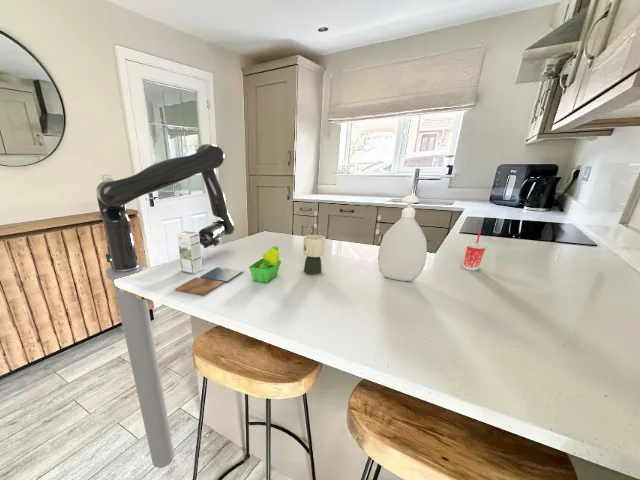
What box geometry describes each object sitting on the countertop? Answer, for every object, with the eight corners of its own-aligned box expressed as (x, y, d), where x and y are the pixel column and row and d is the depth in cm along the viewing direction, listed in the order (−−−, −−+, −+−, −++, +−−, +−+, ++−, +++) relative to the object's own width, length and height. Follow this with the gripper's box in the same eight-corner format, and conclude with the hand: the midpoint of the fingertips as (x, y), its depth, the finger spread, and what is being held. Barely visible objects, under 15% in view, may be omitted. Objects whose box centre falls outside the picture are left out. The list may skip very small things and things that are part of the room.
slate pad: (200, 278, 108) (200, 276, 107) (217, 268, 117) (217, 267, 117) (227, 282, 103) (227, 281, 103) (242, 272, 112) (242, 271, 112)
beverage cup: (465, 264, 115) (475, 227, 109) (484, 268, 110) (494, 230, 105) (456, 267, 112) (466, 229, 107) (475, 272, 107) (485, 232, 102)
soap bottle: (424, 278, 103) (441, 194, 92) (419, 285, 97) (436, 197, 86) (379, 270, 111) (390, 192, 101) (372, 277, 105) (383, 195, 95)
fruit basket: (262, 271, 113) (262, 241, 109) (284, 274, 110) (285, 243, 105) (248, 281, 104) (247, 249, 99) (272, 285, 100) (272, 251, 96)
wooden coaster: (175, 290, 98) (175, 288, 98) (196, 278, 107) (195, 277, 107) (204, 295, 94) (203, 293, 93) (223, 283, 103) (222, 281, 102)
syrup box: (203, 269, 116) (199, 231, 111) (193, 274, 112) (189, 234, 106) (191, 267, 119) (187, 230, 113) (181, 272, 114) (176, 233, 109)
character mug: (306, 267, 116) (307, 233, 111) (325, 268, 114) (327, 234, 109) (299, 276, 107) (300, 240, 102) (319, 278, 105) (321, 241, 100)
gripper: (193, 226, 130) (175, 234, 115) (225, 226, 127) (210, 235, 112) (195, 243, 133) (177, 253, 118) (226, 244, 129) (212, 255, 115)
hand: (193, 245), depth 115 cm, fingers open, 8 cm apart
